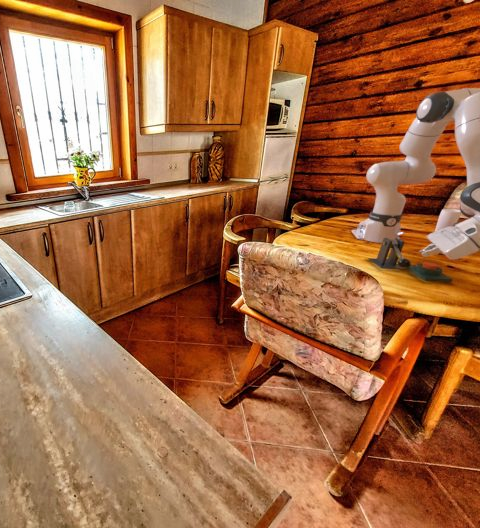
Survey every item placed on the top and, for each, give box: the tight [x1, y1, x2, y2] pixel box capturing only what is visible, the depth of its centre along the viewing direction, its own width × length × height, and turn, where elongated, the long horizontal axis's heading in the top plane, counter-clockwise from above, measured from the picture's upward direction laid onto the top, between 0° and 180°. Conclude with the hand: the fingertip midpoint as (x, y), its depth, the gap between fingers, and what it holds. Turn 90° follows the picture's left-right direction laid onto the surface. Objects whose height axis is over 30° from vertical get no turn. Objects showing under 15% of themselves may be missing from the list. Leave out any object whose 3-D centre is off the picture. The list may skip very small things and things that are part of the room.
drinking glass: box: [434, 208, 462, 232], centre depth 138 cm, size 7×7×15 cm
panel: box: [405, 263, 454, 283], centre depth 107 cm, size 12×8×4 cm, turn 165°
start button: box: [422, 261, 439, 270], centre depth 106 cm, size 4×4×2 cm
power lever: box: [389, 239, 412, 269], centre depth 110 cm, size 14×4×4 cm, turn 165°
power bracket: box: [368, 237, 405, 270], centre depth 115 cm, size 10×8×12 cm
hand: (421, 254), depth 103 cm, fingers closed
